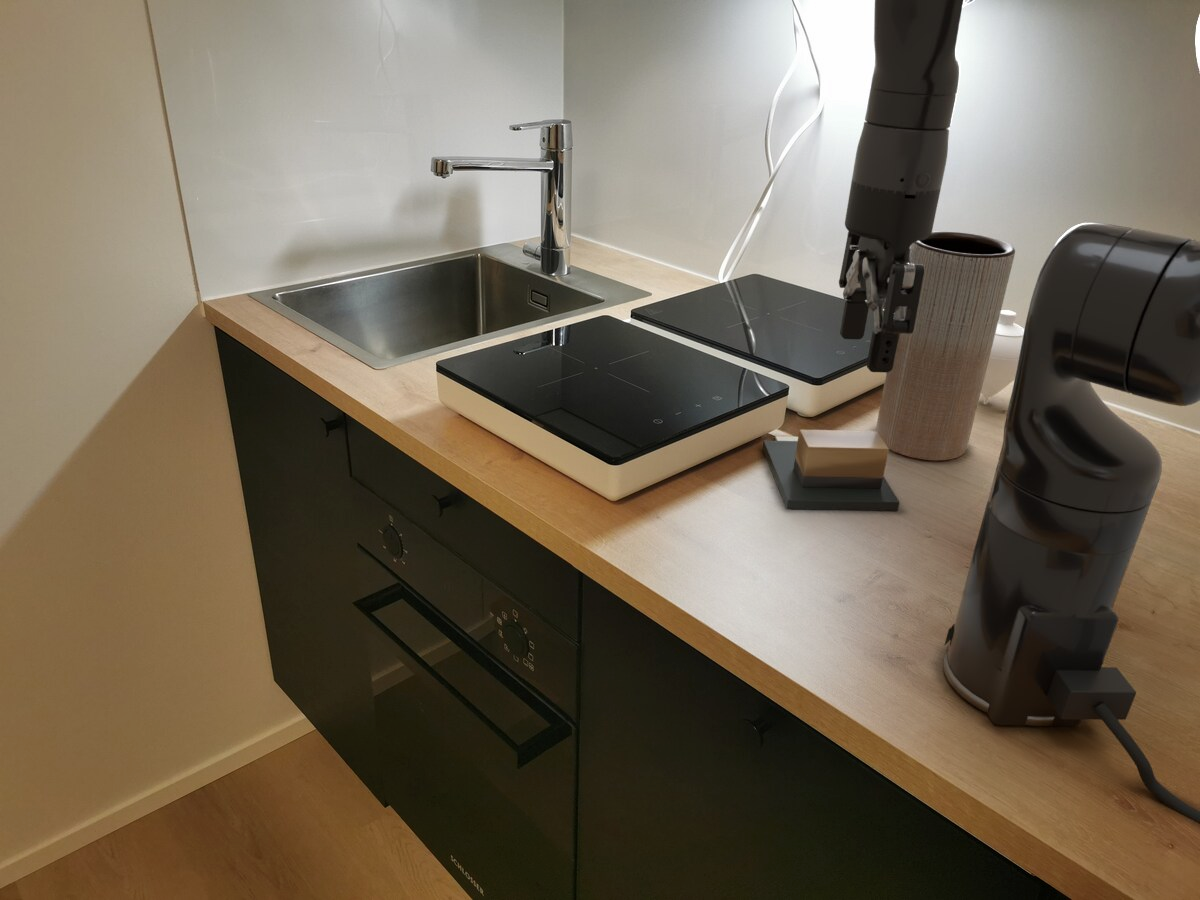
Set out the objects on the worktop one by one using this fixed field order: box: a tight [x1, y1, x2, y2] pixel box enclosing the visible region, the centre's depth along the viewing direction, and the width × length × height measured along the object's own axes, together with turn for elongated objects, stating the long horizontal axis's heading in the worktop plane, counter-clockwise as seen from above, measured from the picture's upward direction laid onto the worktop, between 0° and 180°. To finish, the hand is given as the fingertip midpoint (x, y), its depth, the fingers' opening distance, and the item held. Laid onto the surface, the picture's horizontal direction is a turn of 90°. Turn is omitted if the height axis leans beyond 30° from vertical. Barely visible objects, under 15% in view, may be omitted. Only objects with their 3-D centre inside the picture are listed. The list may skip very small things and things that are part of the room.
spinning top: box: [981, 309, 1025, 405], centre depth 110 cm, size 8×8×12 cm
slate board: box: [762, 440, 900, 512], centre depth 94 cm, size 13×11×1 cm
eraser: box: [794, 429, 890, 489], centre depth 91 cm, size 4×8×4 cm, turn 91°
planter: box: [875, 230, 1016, 462], centre depth 98 cm, size 10×10×23 cm
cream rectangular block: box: [774, 435, 798, 441], centre depth 102 cm, size 2×4×1 cm, turn 92°
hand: (864, 353), depth 86 cm, fingers open, 8 cm apart
